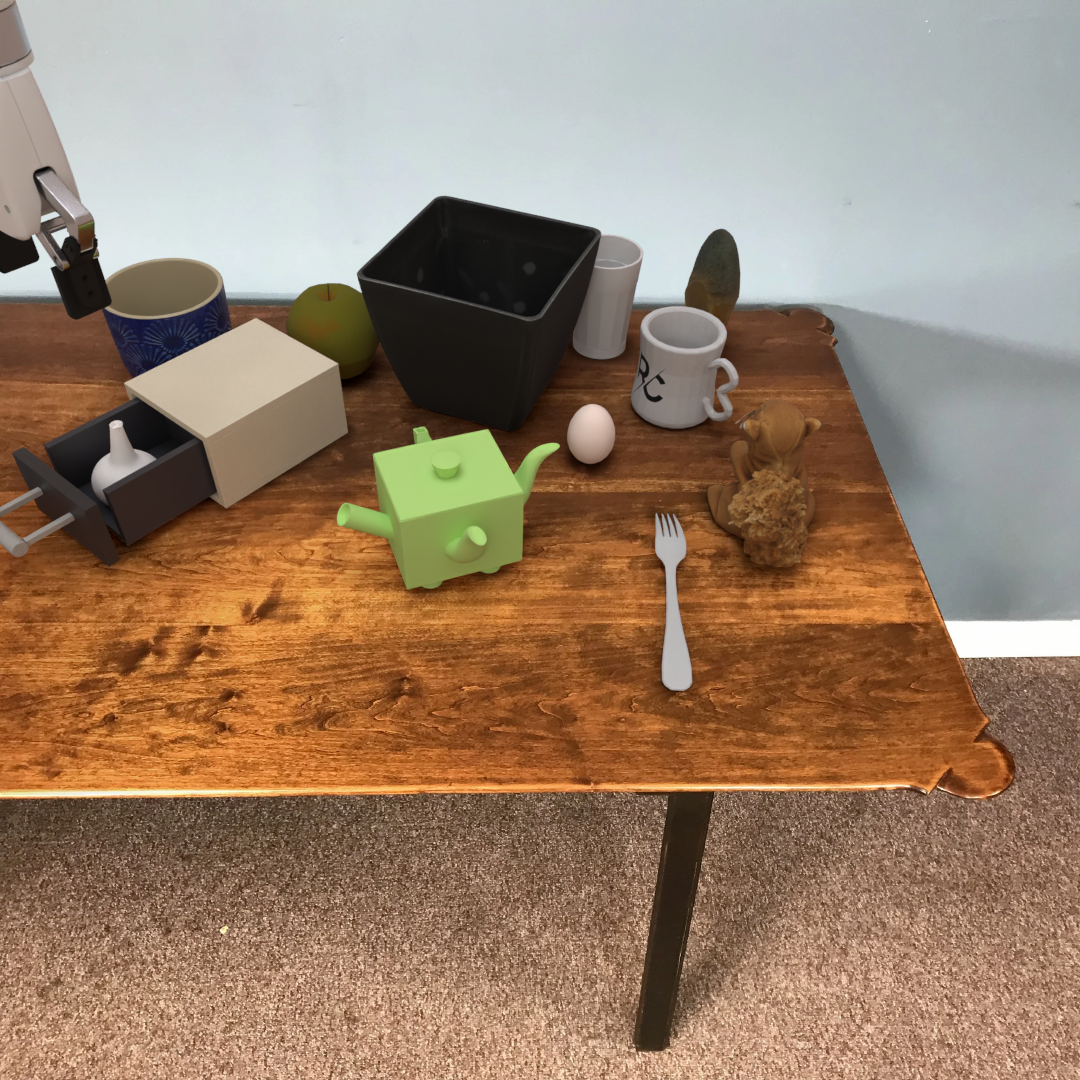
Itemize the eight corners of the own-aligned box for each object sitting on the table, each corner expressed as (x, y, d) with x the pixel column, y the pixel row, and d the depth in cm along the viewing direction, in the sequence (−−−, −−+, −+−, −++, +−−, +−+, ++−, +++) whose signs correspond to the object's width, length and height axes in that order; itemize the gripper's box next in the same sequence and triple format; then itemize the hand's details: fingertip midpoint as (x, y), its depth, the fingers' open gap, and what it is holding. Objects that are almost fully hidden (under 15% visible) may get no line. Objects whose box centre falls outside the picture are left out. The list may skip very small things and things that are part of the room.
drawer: (48, 604, 77) (18, 548, 73) (-22, 542, 82) (-54, 485, 77) (243, 485, 89) (228, 429, 84) (171, 436, 94) (154, 380, 89)
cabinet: (226, 508, 88) (206, 437, 82) (147, 453, 93) (123, 382, 87) (348, 432, 96) (338, 363, 90) (270, 385, 102) (256, 317, 96)
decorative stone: (679, 326, 113) (698, 209, 103) (729, 333, 113) (752, 216, 102) (671, 370, 107) (691, 250, 96) (724, 377, 106) (749, 257, 95)
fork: (656, 704, 76) (660, 687, 74) (650, 513, 89) (653, 494, 87) (690, 706, 76) (695, 689, 74) (679, 514, 89) (683, 496, 87)
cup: (607, 371, 106) (617, 276, 98) (552, 346, 109) (556, 252, 101) (645, 342, 111) (657, 249, 102) (590, 319, 114) (598, 227, 105)
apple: (391, 348, 108) (382, 262, 100) (375, 397, 101) (364, 309, 93) (306, 343, 108) (292, 256, 100) (284, 391, 101) (267, 302, 93)
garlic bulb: (95, 480, 87) (66, 412, 81) (163, 464, 89) (141, 396, 83) (102, 523, 83) (73, 454, 77) (174, 505, 85) (151, 437, 79)
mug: (612, 403, 102) (621, 324, 95) (668, 373, 106) (680, 295, 99) (696, 458, 95) (712, 378, 88) (752, 424, 100) (772, 345, 93)
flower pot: (532, 462, 94) (538, 317, 82) (368, 416, 98) (351, 273, 87) (592, 365, 107) (604, 228, 95) (445, 329, 111) (438, 193, 99)
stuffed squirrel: (804, 489, 92) (839, 380, 83) (823, 593, 82) (864, 482, 73) (705, 481, 93) (728, 371, 83) (711, 583, 83) (738, 472, 73)
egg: (569, 442, 97) (573, 389, 92) (614, 448, 96) (620, 395, 91) (562, 471, 93) (565, 418, 88) (609, 477, 93) (615, 425, 88)
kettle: (555, 524, 88) (561, 432, 80) (495, 631, 78) (495, 538, 70) (415, 482, 91) (407, 389, 83) (341, 579, 82) (324, 485, 74)
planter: (264, 376, 103) (245, 289, 95) (162, 422, 97) (133, 332, 89) (206, 331, 109) (184, 245, 101) (107, 371, 103) (75, 283, 95)
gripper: (-167, 21, 58) (-53, 268, 70) (-28, 89, 51) (72, 352, 63) (-50, -3, 63) (39, 234, 75) (94, 57, 55) (167, 309, 67)
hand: (54, 288), depth 69 cm, fingers open, 9 cm apart
